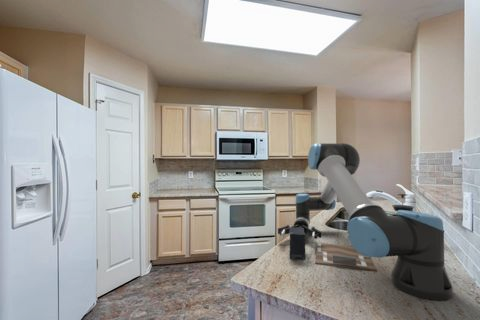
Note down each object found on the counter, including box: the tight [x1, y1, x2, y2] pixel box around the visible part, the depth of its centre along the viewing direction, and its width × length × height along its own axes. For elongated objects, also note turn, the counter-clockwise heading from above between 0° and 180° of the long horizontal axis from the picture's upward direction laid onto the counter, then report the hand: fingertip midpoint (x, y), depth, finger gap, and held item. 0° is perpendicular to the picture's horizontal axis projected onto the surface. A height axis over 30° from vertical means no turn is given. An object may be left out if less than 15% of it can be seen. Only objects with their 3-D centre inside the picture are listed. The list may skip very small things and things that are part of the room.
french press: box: [391, 193, 415, 216], centre depth 118 cm, size 12×9×23 cm
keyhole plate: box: [314, 242, 377, 272], centre depth 100 cm, size 24×21×4 cm
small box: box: [289, 226, 306, 261], centre depth 101 cm, size 11×6×10 cm, turn 168°
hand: (297, 237), depth 106 cm, fingers open, 13 cm apart
